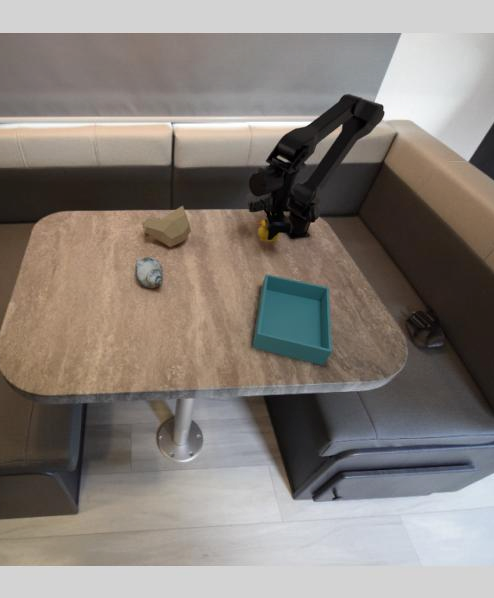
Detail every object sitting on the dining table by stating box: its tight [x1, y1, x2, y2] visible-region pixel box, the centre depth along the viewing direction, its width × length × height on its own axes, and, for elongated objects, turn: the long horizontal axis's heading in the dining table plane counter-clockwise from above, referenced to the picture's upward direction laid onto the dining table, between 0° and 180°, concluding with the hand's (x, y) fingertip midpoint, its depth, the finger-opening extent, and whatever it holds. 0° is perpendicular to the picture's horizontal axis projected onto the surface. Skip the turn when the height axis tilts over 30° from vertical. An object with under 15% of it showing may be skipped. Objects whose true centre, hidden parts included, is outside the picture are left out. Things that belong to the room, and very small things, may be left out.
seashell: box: [135, 256, 163, 289], centre depth 91 cm, size 6×8×12 cm
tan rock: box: [141, 205, 192, 248], centre depth 102 cm, size 15×11×12 cm
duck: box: [257, 217, 282, 243], centre depth 101 cm, size 7×4×6 cm, turn 84°
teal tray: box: [251, 274, 333, 366], centre depth 82 cm, size 20×15×5 cm
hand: (268, 235), depth 103 cm, fingers closed on duck, 4 cm apart
